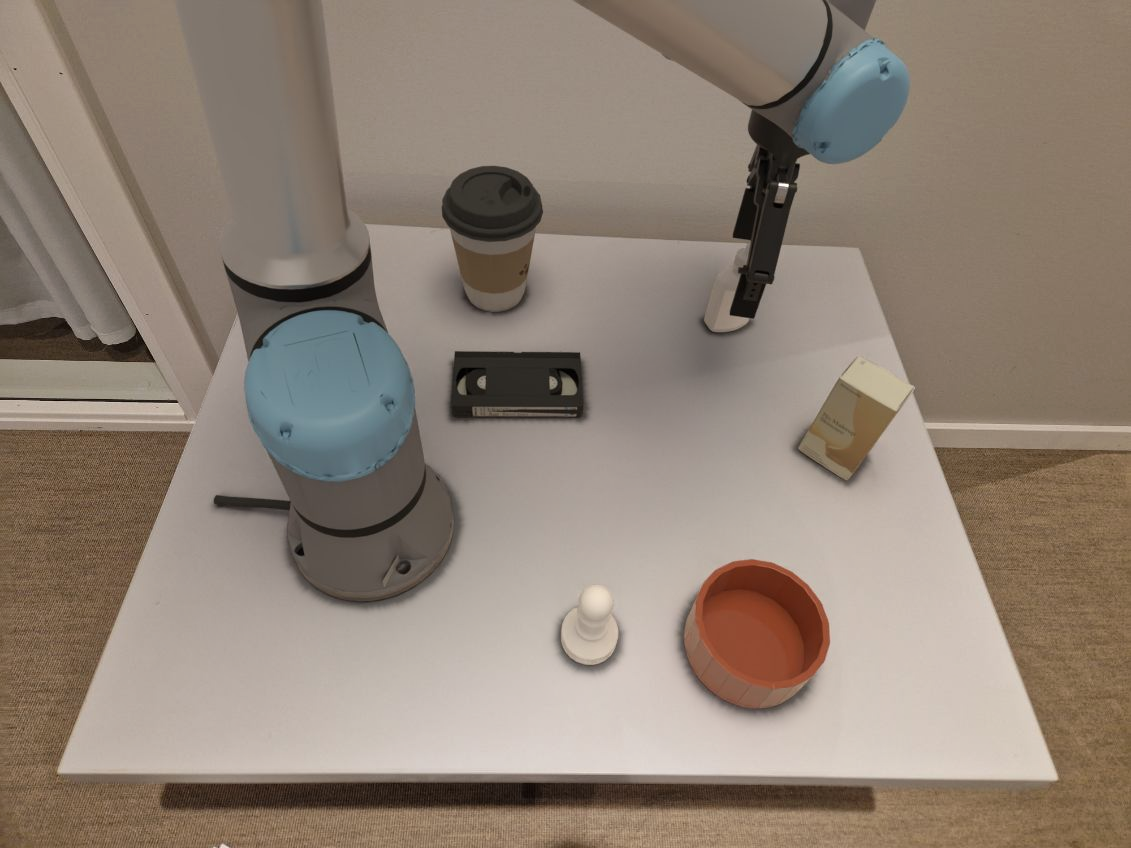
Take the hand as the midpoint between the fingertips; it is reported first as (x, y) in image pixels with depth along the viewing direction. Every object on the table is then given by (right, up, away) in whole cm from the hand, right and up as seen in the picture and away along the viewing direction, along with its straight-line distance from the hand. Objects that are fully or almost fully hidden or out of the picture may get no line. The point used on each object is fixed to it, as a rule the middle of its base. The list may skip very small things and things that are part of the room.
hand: (742, 274), depth 84 cm
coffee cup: (-29, -1, +7) cm, 30 cm away
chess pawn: (-18, -37, -19) cm, 45 cm away
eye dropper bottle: (-1, -5, +6) cm, 8 cm away
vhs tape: (-26, -14, -2) cm, 29 cm away
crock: (-4, -37, -19) cm, 42 cm away
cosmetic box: (+8, -21, -6) cm, 23 cm away
